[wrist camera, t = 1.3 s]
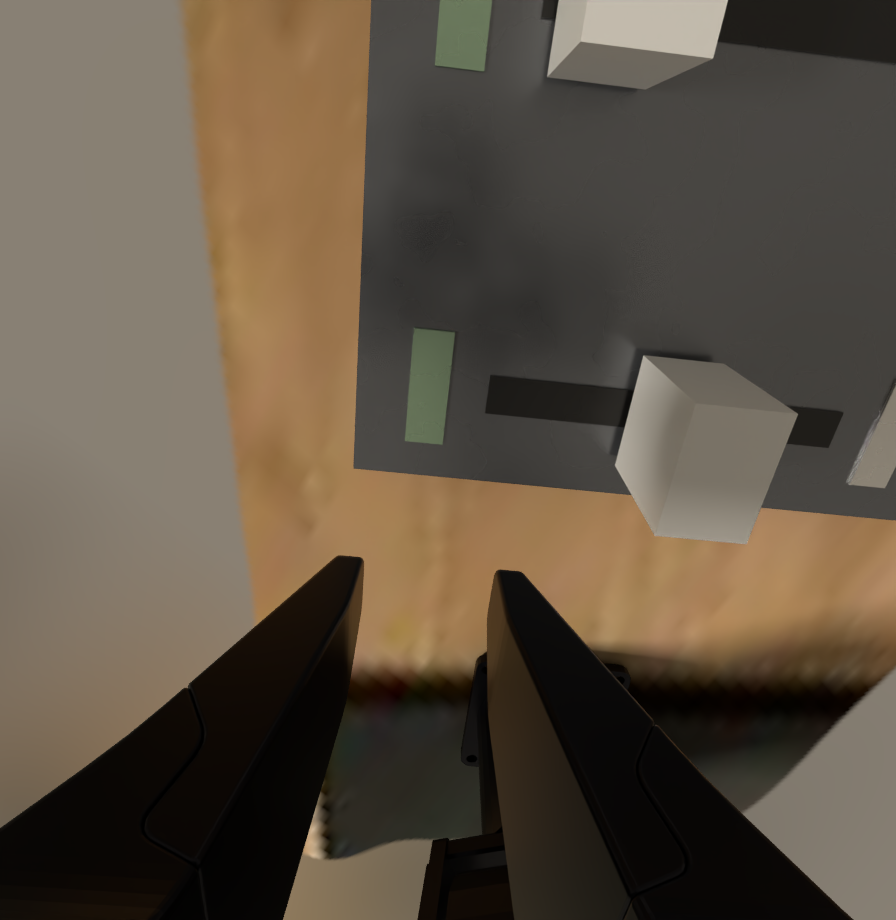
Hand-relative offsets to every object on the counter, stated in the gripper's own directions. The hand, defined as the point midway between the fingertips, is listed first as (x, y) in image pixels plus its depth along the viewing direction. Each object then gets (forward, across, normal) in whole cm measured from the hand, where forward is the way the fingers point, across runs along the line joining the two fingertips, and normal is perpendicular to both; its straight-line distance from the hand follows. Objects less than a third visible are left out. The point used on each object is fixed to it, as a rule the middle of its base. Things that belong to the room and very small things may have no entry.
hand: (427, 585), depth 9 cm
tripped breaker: (+9, -7, 0) cm, 11 cm away
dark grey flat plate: (+11, -7, -5) cm, 14 cm away
